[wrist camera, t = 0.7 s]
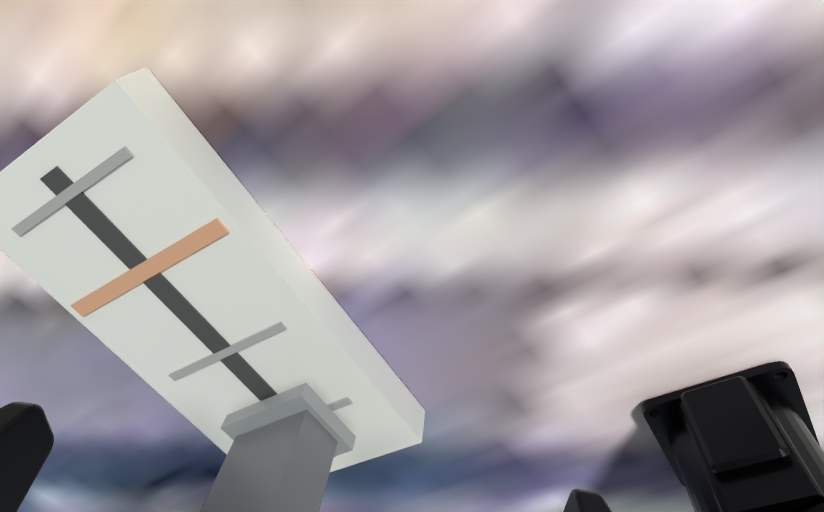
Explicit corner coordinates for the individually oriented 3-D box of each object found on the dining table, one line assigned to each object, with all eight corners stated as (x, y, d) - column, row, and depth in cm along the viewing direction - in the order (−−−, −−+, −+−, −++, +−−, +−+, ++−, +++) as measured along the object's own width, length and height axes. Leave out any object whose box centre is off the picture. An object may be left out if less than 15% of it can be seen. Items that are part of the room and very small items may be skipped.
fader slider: (355, 436, 26) (327, 556, 21) (278, 463, 27) (234, 580, 22) (306, 382, 24) (262, 498, 19) (226, 414, 26) (167, 528, 21)
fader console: (425, 410, 27) (421, 444, 26) (279, 461, 31) (267, 494, 29) (146, 66, 19) (112, 80, 18) (-7, 187, 23) (-48, 209, 21)
